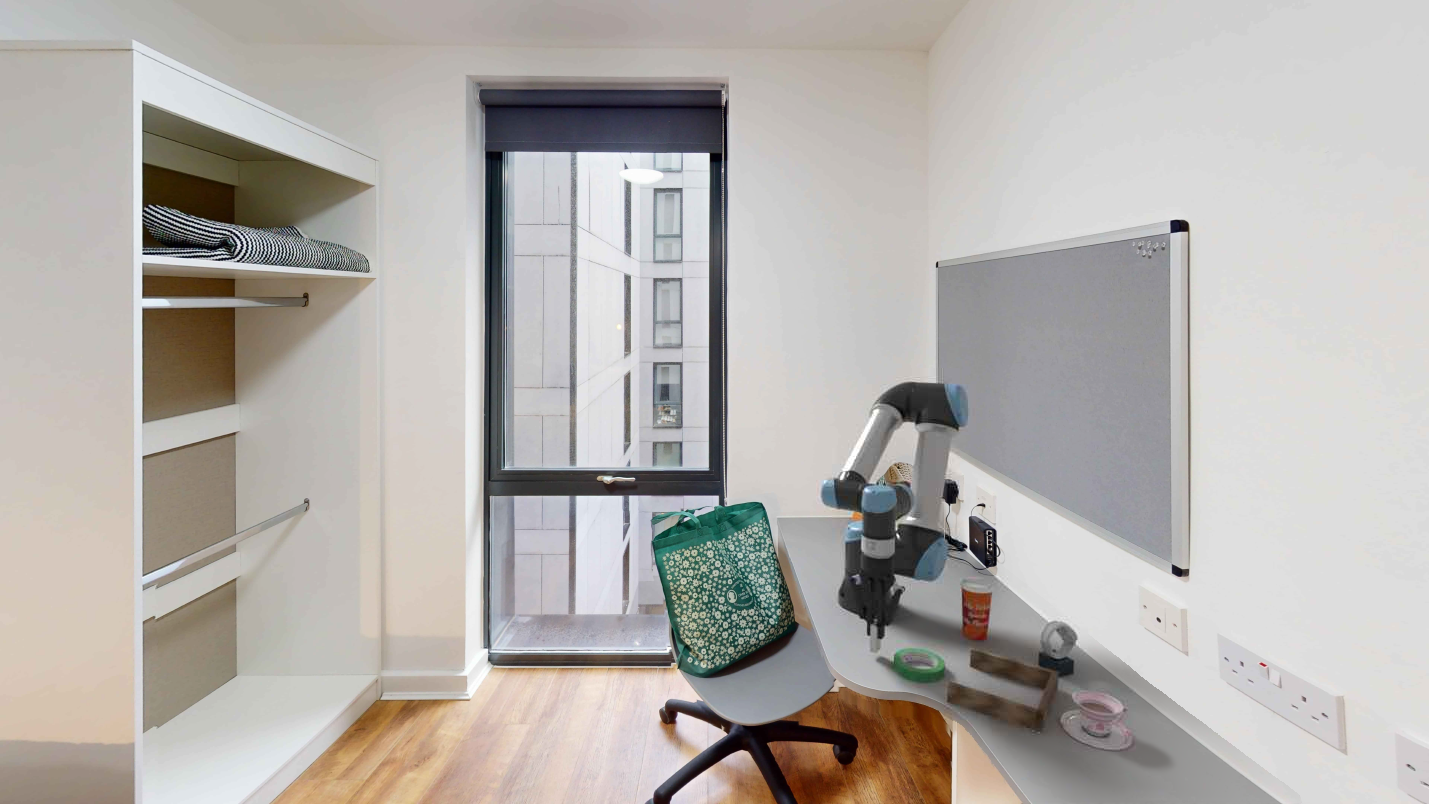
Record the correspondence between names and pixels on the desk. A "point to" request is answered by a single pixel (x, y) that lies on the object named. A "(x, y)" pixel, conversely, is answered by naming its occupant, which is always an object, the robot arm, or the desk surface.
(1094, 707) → the teacup
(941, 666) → the tape roll
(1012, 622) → the desk surface
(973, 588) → the paper cup
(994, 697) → the u-shaped wooden frame
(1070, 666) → the watch
